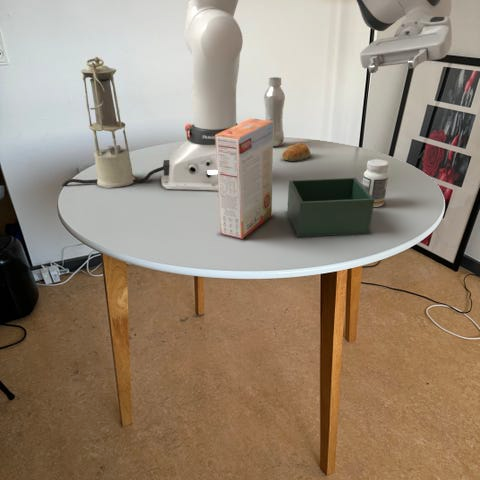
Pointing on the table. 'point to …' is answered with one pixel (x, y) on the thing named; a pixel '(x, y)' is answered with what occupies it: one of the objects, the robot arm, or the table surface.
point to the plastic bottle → (275, 109)
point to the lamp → (107, 127)
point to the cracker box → (244, 176)
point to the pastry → (296, 152)
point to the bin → (329, 207)
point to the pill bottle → (376, 180)
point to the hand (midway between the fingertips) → (390, 67)
